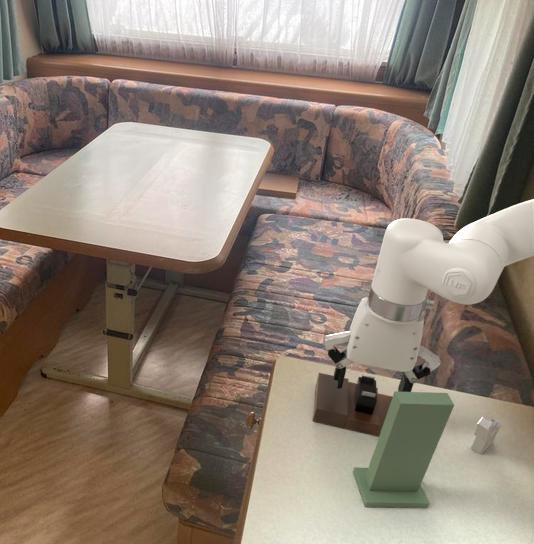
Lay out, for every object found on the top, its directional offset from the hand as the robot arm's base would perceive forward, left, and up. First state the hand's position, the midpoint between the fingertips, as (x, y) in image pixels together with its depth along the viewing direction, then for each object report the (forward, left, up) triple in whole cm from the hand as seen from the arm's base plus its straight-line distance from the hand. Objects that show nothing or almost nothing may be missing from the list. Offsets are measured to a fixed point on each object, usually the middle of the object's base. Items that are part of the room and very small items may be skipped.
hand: (369, 389), depth 93 cm
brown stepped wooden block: (0, 0, -6) cm, 6 cm away
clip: (0, 0, -3) cm, 3 cm away
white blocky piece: (-17, -3, -6) cm, 19 cm away
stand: (-8, +12, -6) cm, 16 cm away
